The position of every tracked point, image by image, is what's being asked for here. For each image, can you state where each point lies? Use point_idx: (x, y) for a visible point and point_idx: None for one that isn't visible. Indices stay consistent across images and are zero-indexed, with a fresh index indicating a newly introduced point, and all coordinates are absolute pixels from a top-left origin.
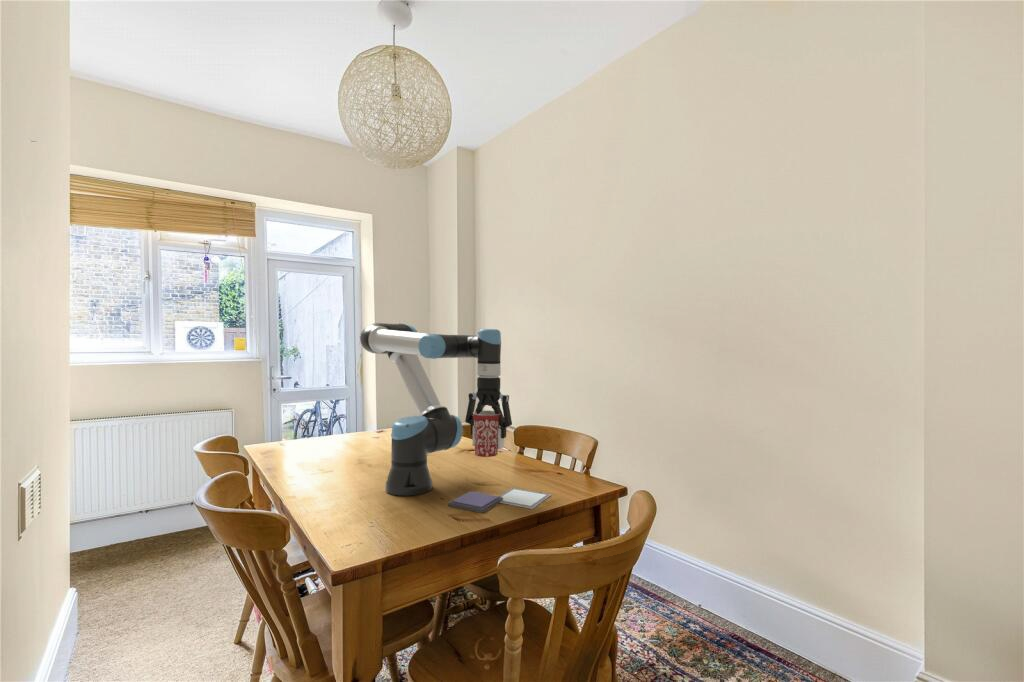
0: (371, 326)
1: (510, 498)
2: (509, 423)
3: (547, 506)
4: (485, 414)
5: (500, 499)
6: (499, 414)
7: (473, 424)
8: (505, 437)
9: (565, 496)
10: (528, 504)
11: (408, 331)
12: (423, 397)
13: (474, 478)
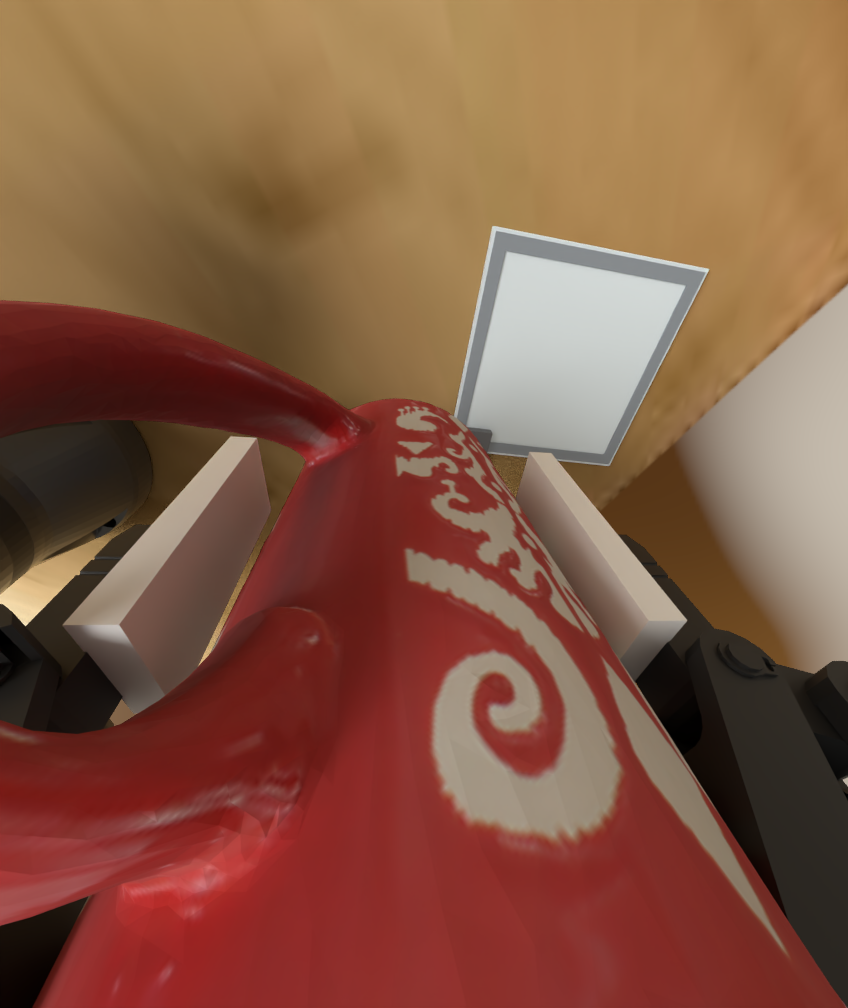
0: None
1: (517, 405)
2: (846, 764)
3: (664, 422)
4: None
5: (487, 450)
6: None
7: (105, 719)
8: (625, 538)
9: (779, 255)
10: (595, 441)
11: None
12: None
13: (131, 39)
